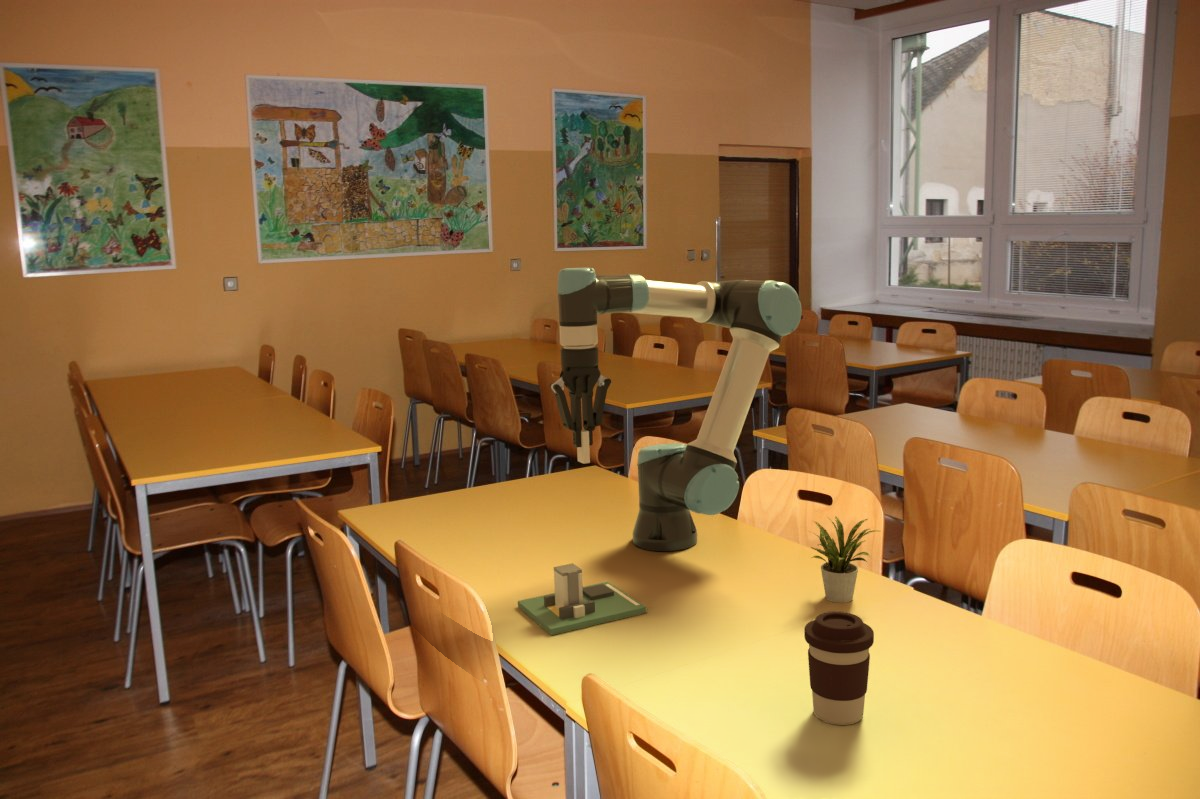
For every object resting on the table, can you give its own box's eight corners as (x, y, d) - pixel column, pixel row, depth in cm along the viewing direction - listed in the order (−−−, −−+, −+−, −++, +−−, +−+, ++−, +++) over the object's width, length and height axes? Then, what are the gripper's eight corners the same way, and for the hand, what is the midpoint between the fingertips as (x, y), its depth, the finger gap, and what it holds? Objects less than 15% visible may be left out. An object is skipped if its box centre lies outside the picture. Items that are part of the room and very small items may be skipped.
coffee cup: (796, 701, 150) (796, 609, 147) (859, 696, 151) (860, 604, 148) (815, 733, 140) (816, 635, 138) (882, 728, 141) (884, 630, 138)
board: (607, 587, 200) (607, 572, 200) (646, 612, 186) (646, 596, 186) (517, 606, 192) (517, 591, 191) (551, 635, 178) (550, 618, 177)
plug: (574, 602, 189) (572, 563, 188) (584, 610, 185) (582, 570, 184) (555, 606, 188) (553, 567, 186) (565, 614, 184) (563, 574, 182)
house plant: (889, 589, 194) (890, 510, 191) (877, 615, 181) (879, 531, 178) (817, 581, 200) (817, 504, 197) (801, 605, 187) (801, 523, 184)
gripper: (599, 341, 199) (603, 454, 203) (541, 347, 194) (546, 462, 198) (617, 345, 193) (620, 461, 197) (557, 350, 187) (562, 470, 191)
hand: (583, 461), depth 197 cm, fingers closed
